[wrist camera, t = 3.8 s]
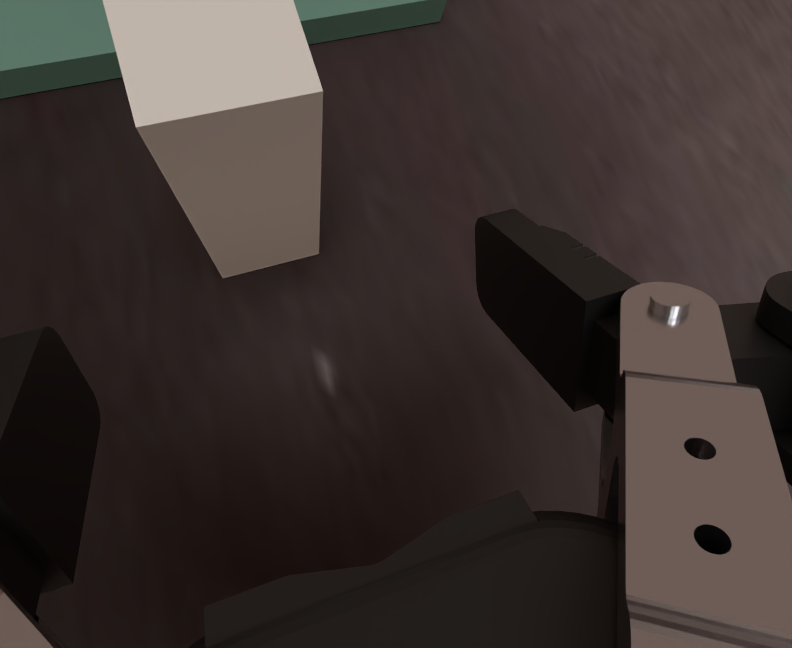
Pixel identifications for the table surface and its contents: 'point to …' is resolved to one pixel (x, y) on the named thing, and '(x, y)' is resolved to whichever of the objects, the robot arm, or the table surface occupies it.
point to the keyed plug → (229, 120)
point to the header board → (95, 52)
